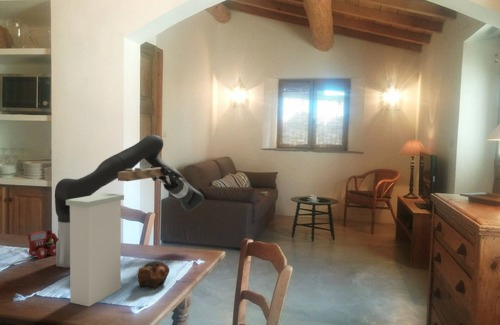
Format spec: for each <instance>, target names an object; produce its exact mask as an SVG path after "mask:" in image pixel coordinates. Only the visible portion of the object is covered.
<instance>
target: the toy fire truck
mask: <svg viewBox="0 0 500 325" xmlns="http://www.w3.org/2000/svg"><path fill="white" fill-rule="evenodd" d="M27 240H28V245H29V246H28V248H29V250H28V254H29V256H31V257H36V258H38V259H44V258H45V257H46V256H47V254H49V255H50V256H53V257H55V256H56V242H57V241H58V235H56V233H54V232H53V230H52V229H48V230H47V231H44V230H41V231H37V232H32V233H31V232H30V233H29V234H27Z"/></svg>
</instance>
